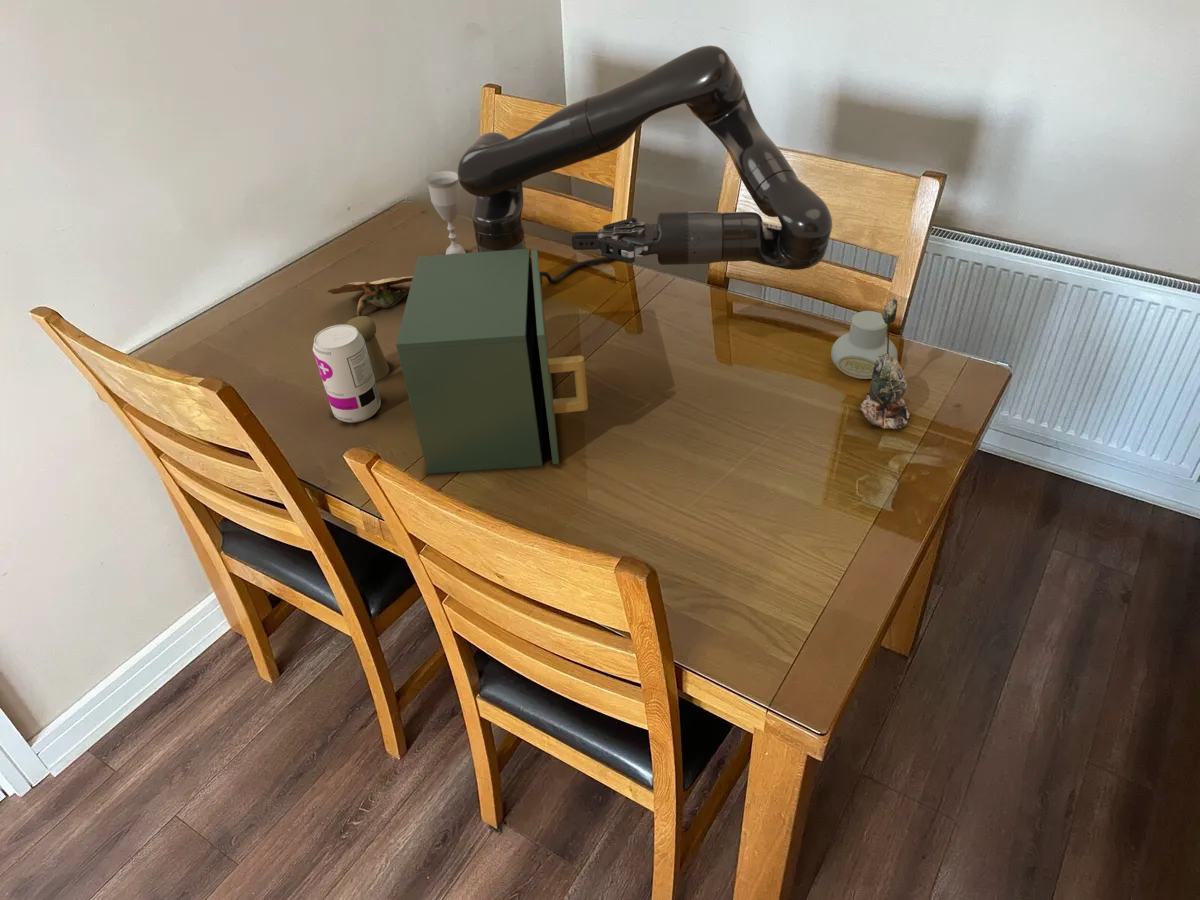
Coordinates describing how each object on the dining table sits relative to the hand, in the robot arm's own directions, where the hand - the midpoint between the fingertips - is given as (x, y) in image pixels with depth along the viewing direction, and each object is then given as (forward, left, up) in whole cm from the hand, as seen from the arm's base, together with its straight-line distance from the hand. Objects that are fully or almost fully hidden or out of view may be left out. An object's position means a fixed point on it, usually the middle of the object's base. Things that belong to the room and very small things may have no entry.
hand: (572, 241), depth 129 cm
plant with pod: (-30, +38, -30) cm, 57 cm away
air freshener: (-39, +28, -30) cm, 57 cm away
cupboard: (+14, -9, -30) cm, 34 cm away
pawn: (+20, -36, -30) cm, 51 cm away
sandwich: (+6, -57, -30) cm, 64 cm away
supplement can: (+28, -28, -30) cm, 50 cm away
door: (+4, 0, -30) cm, 30 cm away
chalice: (-17, -61, -30) cm, 70 cm away
